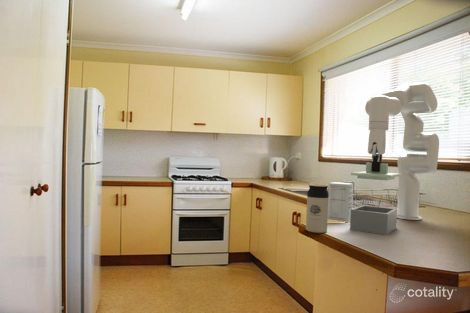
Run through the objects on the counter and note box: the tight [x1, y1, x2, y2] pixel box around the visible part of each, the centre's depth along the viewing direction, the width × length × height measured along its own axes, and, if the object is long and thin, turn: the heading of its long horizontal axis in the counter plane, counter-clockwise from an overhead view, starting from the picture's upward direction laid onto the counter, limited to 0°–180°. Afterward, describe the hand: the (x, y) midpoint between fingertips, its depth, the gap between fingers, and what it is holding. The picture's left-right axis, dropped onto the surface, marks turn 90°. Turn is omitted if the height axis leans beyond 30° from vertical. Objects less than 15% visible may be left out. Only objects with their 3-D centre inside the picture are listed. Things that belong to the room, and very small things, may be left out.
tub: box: [349, 204, 398, 236], centre depth 154 cm, size 18×14×8 cm
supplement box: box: [327, 181, 354, 222], centre depth 174 cm, size 10×9×17 cm
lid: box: [350, 162, 401, 181], centre depth 154 cm, size 19×15×6 cm
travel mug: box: [305, 182, 329, 234], centre depth 144 cm, size 8×8×18 cm
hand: (376, 171), depth 154 cm, fingers closed on lid, 2 cm apart
